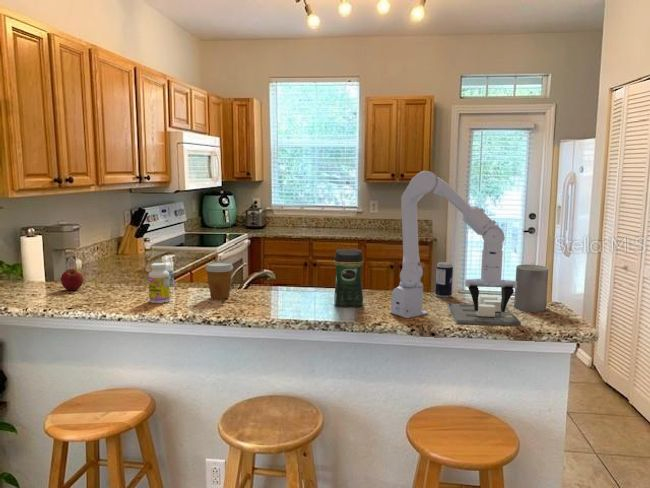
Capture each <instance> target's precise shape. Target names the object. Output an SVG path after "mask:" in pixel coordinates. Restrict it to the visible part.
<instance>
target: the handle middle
mask: <svg viewBox="0 0 650 488" xmlns="http://www.w3.org/2000/svg"><path fill="white" fill-rule="evenodd" d="M483 305H494V306H495V312H502V311H501V300H500V299H497V300H484V304H483Z"/></svg>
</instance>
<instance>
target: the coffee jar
mask: <svg viewBox="0 0 650 488" xmlns="http://www.w3.org/2000/svg"><path fill="white" fill-rule="evenodd" d="M333 264H334V267H335V286H334V294H333V295H334V296H333V297H334V298H333V299H334V300H333V303H334V305H335V306H337V307H343V308H347V307H348V308H353V307H354V308H355V307H360V306H362V305H363V303H364V295H363V285H362V269H363V268H362V267H363V265H364V259H363V252H362V250H361V249H347V248H346V249H345V248H344V249H343V248H342V249H336V251H335V255H334V260H333Z"/></svg>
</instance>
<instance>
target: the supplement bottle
mask: <svg viewBox="0 0 650 488" xmlns="http://www.w3.org/2000/svg"><path fill="white" fill-rule="evenodd" d="M150 267H151V271H149V272H148V293H149V294H148V295H149V296H148V297H149V302H150V303H151V304H152V303H153V304H165V303H168V302H169V301H170V300H171V289H170V287H171V286H170V285H171V283H170V273H169V271H168V270H166V268H167V263H166V262H154V263H151V265H150ZM164 302H165V303H164Z"/></svg>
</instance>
